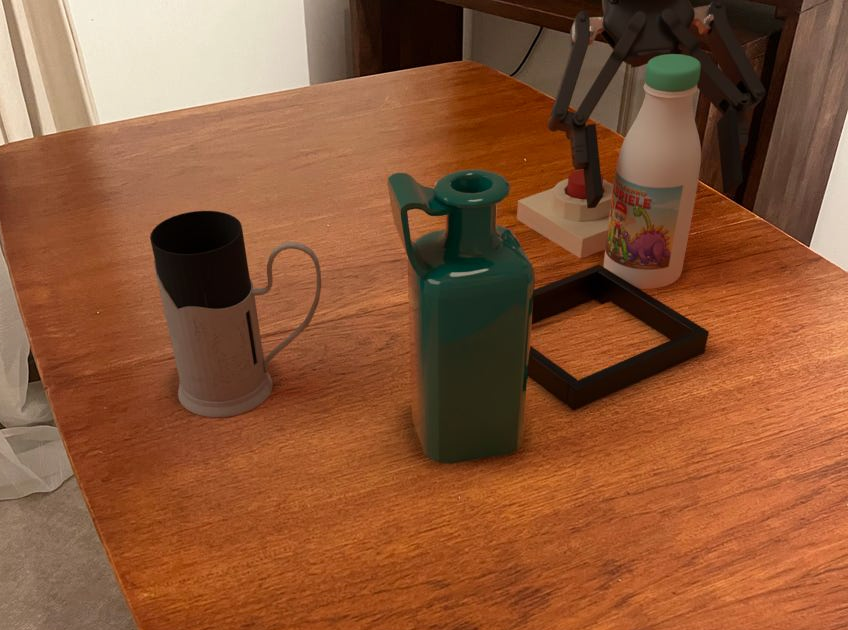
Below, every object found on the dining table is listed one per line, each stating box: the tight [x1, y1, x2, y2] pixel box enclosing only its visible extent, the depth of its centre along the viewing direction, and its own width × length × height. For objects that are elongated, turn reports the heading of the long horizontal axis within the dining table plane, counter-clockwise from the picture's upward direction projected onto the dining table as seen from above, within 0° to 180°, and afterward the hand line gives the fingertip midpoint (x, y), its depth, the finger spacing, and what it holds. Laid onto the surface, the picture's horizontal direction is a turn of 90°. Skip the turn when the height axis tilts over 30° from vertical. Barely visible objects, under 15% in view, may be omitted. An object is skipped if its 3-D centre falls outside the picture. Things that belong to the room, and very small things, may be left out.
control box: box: [516, 178, 614, 259], centre depth 109 cm, size 11×9×4 cm
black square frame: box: [528, 264, 710, 411], centre depth 93 cm, size 15×15×3 cm
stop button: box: [567, 169, 604, 200], centre depth 107 cm, size 4×4×2 cm
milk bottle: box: [602, 54, 702, 290], centre depth 95 cm, size 8×8×20 cm
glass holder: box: [149, 210, 322, 418], centre depth 88 cm, size 9×14×15 cm, turn 88°
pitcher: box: [387, 168, 536, 464], centre depth 78 cm, size 10×8×22 cm
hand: (664, 195), depth 94 cm, fingers open, 12 cm apart
